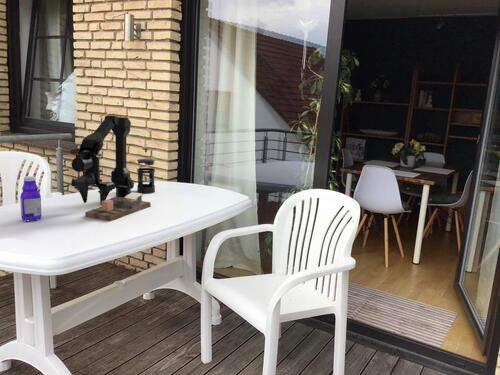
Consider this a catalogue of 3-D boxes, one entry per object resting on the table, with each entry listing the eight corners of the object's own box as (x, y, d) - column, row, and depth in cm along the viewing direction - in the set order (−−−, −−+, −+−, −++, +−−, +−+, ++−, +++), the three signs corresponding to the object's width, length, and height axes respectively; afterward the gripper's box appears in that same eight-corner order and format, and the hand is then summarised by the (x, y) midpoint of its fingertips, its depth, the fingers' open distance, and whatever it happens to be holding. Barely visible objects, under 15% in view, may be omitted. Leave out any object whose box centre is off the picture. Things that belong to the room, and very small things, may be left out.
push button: (110, 203, 201) (110, 198, 201) (116, 201, 205) (116, 196, 204) (131, 207, 197) (131, 201, 197) (136, 205, 201) (136, 199, 200)
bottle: (38, 216, 186) (36, 175, 182) (43, 219, 182) (41, 177, 178) (19, 219, 180) (16, 176, 177) (24, 223, 177) (22, 179, 173)
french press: (148, 194, 232) (148, 150, 227) (132, 192, 235) (132, 148, 230) (160, 190, 243) (160, 147, 238) (145, 188, 246) (145, 146, 241)
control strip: (85, 216, 189) (84, 204, 187) (127, 202, 214) (127, 192, 213) (110, 221, 184) (110, 208, 183) (150, 206, 209) (150, 195, 208)
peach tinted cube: (101, 210, 190) (101, 201, 189) (107, 208, 193) (107, 199, 192) (107, 211, 189) (107, 202, 188) (113, 209, 192) (113, 200, 191)
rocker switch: (124, 200, 206) (123, 197, 205) (132, 194, 211) (131, 192, 210) (135, 201, 204) (134, 199, 203) (142, 196, 209) (142, 193, 208)
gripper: (60, 168, 186) (62, 205, 190) (96, 173, 179) (98, 211, 183) (80, 164, 196) (81, 199, 200) (115, 169, 190) (116, 205, 193)
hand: (93, 204), depth 193 cm, fingers open, 9 cm apart
